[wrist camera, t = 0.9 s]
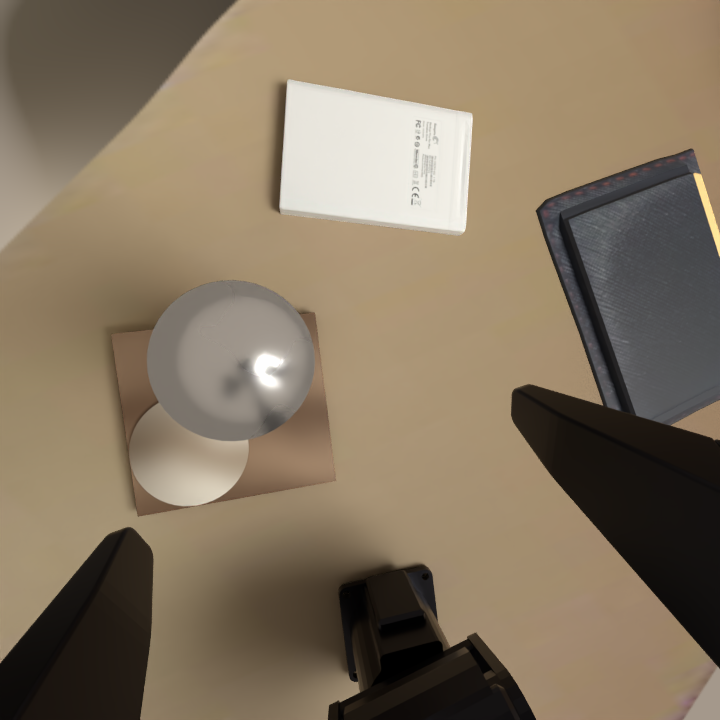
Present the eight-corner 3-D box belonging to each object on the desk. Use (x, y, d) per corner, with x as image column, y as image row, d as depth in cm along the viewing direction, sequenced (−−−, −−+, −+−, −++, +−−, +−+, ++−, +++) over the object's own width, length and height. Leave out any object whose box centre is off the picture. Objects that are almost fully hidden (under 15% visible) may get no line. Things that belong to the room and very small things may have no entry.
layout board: (335, 476, 24) (336, 481, 23) (143, 510, 22) (136, 518, 21) (314, 313, 24) (314, 312, 23) (117, 334, 22) (109, 333, 21)
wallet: (543, 194, 25) (715, 136, 27) (527, 205, 27) (689, 150, 29) (628, 457, 26) (784, 382, 29) (606, 450, 28) (755, 380, 30)
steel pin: (311, 386, 23) (323, 427, 10) (240, 396, 22) (159, 453, 10) (302, 318, 23) (304, 273, 10) (231, 326, 22) (135, 288, 9)
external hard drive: (288, 94, 24) (463, 124, 26) (280, 217, 24) (456, 238, 26) (287, 75, 22) (474, 109, 24) (278, 207, 22) (466, 230, 24)
